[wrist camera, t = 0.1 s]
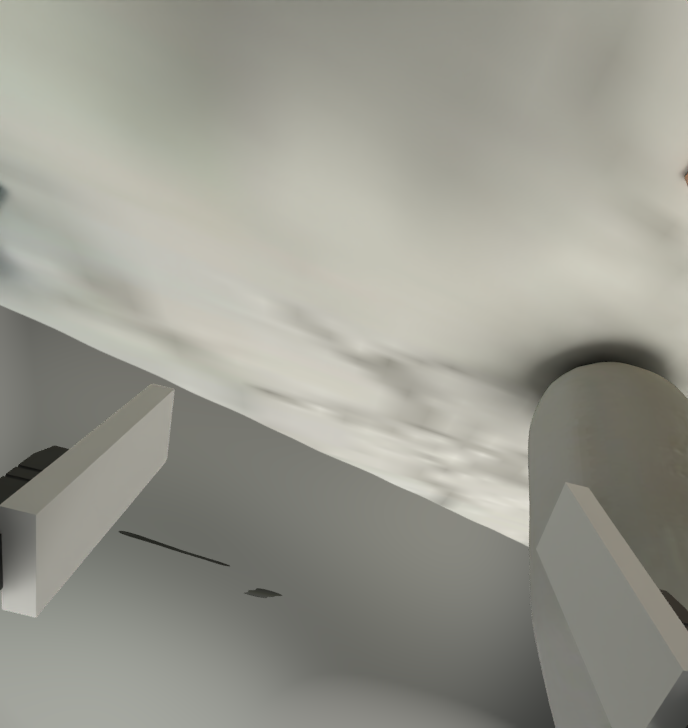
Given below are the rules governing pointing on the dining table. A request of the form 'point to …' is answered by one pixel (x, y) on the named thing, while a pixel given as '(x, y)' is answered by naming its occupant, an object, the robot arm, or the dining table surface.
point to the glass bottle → (606, 500)
